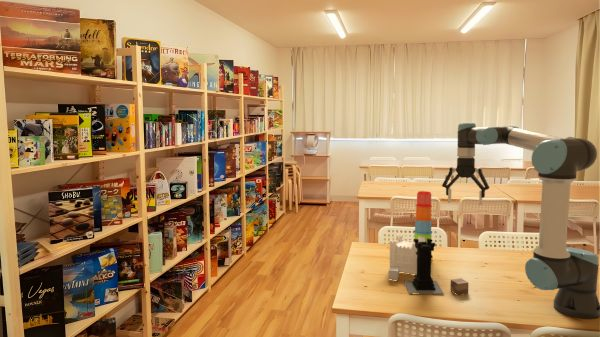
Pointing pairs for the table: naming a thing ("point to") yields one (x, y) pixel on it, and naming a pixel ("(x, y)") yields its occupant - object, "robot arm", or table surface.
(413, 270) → the castle model
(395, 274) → the grey plastic box
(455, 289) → the walnut cube
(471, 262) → the table surface
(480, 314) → the table surface
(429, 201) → the stacking cups
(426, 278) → the chess piece
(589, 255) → the robot arm
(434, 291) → the felt mat
